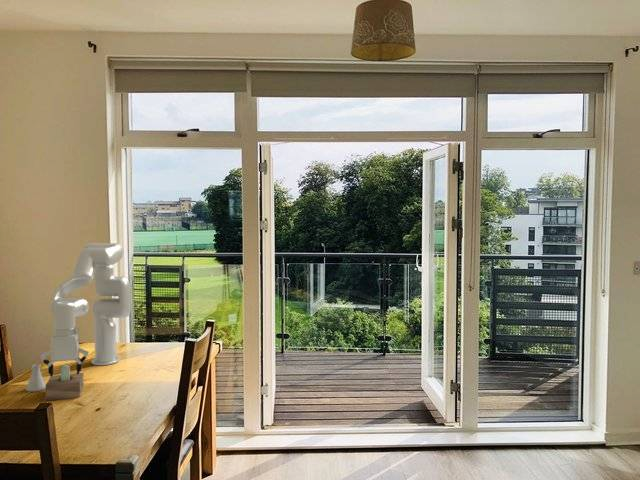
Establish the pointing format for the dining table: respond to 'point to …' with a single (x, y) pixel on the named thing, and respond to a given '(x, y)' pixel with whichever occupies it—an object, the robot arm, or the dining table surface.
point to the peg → (65, 373)
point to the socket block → (64, 387)
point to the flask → (36, 380)
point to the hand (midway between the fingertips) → (65, 374)
